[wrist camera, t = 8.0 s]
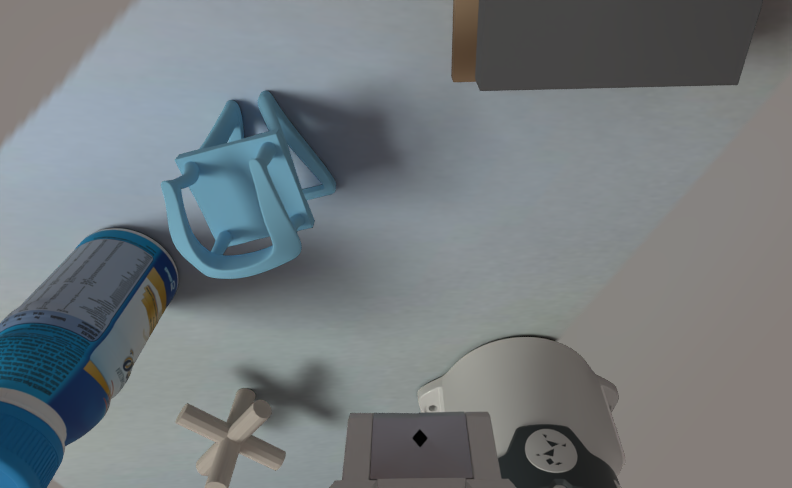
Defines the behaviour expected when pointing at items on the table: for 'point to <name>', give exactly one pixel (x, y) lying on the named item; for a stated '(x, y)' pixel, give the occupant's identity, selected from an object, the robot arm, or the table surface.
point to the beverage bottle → (76, 348)
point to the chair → (245, 193)
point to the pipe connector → (231, 438)
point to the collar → (612, 43)
